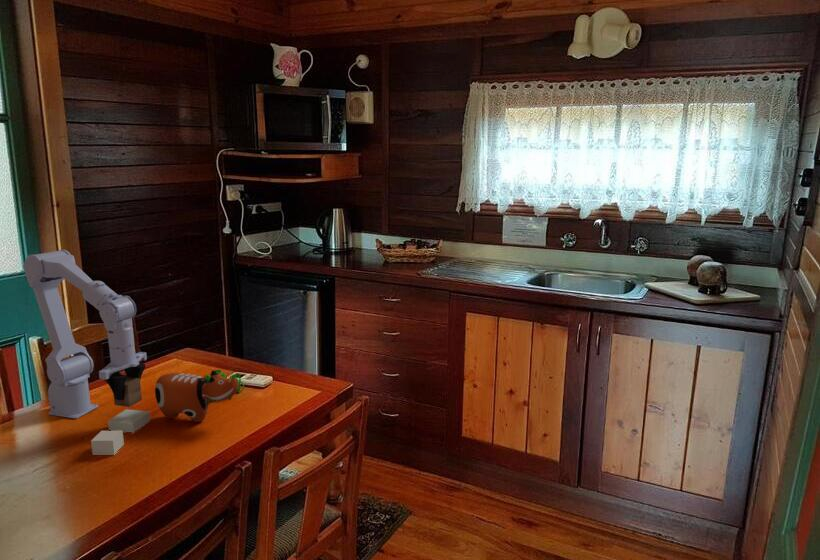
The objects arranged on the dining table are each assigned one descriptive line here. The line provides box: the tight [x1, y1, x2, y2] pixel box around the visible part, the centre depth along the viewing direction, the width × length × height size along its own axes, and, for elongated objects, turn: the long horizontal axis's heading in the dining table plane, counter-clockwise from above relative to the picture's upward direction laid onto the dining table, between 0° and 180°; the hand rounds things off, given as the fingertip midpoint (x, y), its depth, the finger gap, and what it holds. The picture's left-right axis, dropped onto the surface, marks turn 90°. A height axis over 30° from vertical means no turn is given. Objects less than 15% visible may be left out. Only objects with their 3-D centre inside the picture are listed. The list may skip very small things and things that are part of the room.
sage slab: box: [107, 408, 151, 434], centre depth 151 cm, size 7×7×3 cm
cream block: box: [90, 430, 125, 456], centre depth 138 cm, size 5×5×4 cm
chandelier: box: [204, 369, 245, 402], centre depth 171 cm, size 15×15×7 cm
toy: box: [154, 369, 239, 423], centre depth 152 cm, size 10×23×15 cm, turn 78°
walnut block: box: [112, 377, 143, 408], centre depth 149 cm, size 4×4×6 cm
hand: (127, 395), depth 149 cm, fingers closed on walnut block, 4 cm apart
